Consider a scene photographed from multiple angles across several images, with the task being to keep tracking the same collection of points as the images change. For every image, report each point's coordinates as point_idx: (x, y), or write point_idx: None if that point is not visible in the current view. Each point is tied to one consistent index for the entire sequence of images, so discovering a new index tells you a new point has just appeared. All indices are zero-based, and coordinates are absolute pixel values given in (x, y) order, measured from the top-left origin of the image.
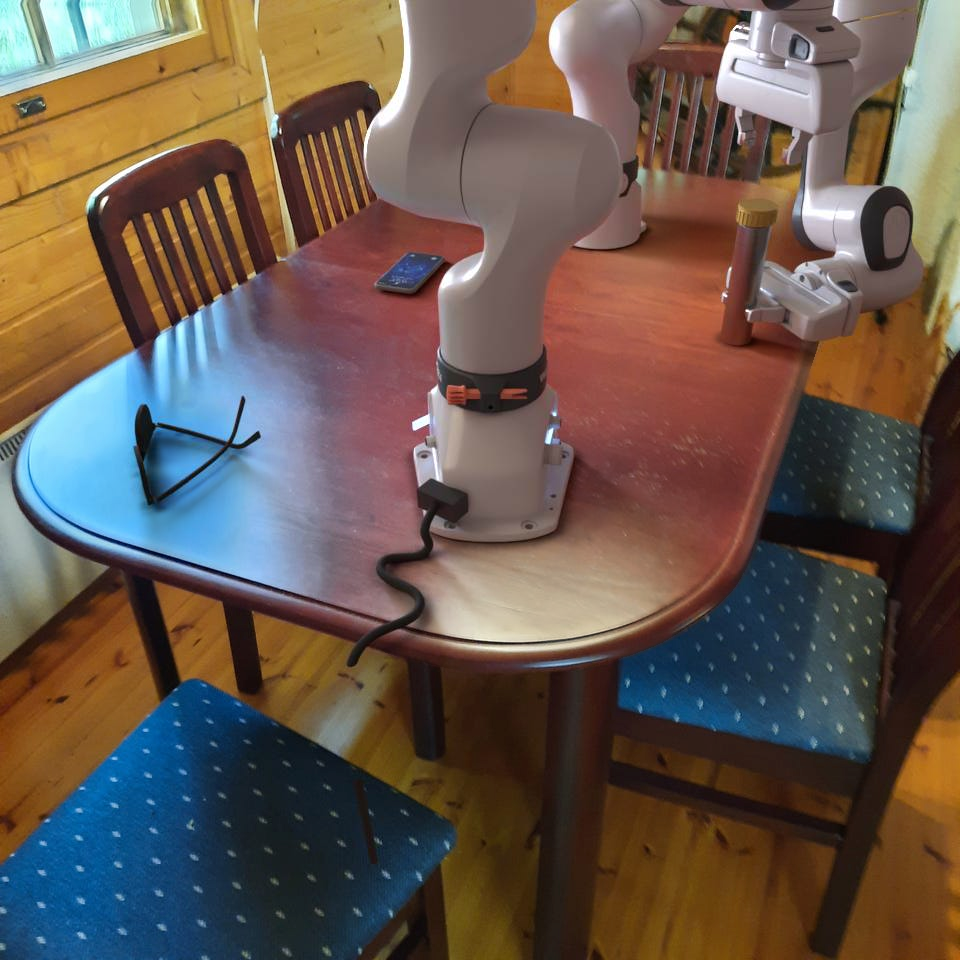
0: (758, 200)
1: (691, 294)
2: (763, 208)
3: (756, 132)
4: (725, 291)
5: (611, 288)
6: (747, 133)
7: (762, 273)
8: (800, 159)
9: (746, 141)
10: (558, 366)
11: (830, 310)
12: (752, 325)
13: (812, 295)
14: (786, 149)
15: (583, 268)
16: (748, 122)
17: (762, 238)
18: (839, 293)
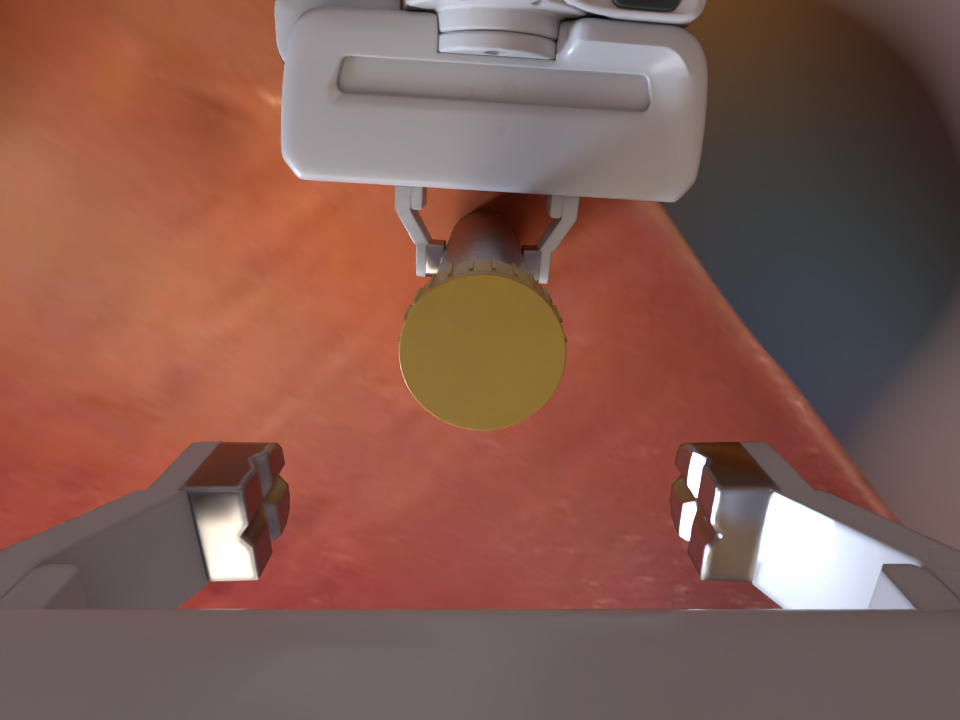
0: (436, 322)
1: (228, 192)
2: (531, 367)
3: (246, 494)
4: (417, 269)
5: (142, 349)
6: (255, 566)
7: (521, 257)
8: (773, 452)
9: (276, 525)
10: (434, 578)
11: (696, 127)
12: (514, 234)
13: (571, 77)
14: (736, 580)
15: (9, 350)
16: (127, 559)
17: None
18: (647, 27)
